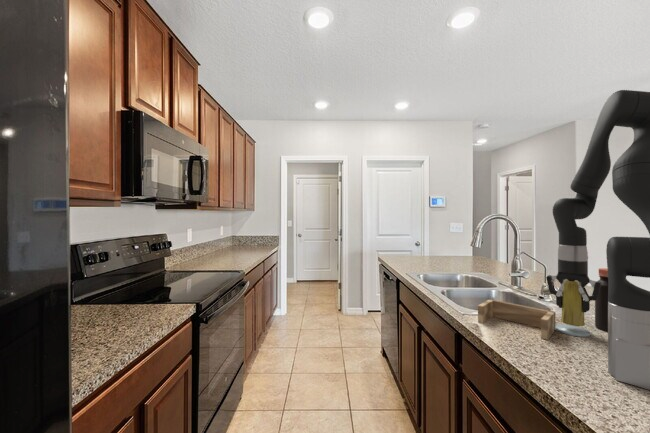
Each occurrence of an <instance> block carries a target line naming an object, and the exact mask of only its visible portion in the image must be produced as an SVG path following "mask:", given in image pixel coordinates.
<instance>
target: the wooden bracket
mask: <svg viewBox="0 0 650 433" xmlns="http://www.w3.org/2000/svg"><path fill="white" fill-rule="evenodd" d="M491 318H496V319H497V318H498V319H502V320H506V321H509V322H514V323H517V324H518V323H519V324H523V325H528V326H531V327H536V328H540V339H543V340H549V338H550V337H551V336H552V334H554V332H555V331H556V329H555V325H556V311H552V310H547V309H543V308H542V309H541V308H538V307H532V306H528V305H524V304H523V305H522V304H518V303H512V302H508V301H502V300H497V299H491V298H490V299H487V300H485V301H484V302H482V303H480V304H478V305H477V322H478V323H481V324H484V323H485V322H487V321H489V320H490V319H491Z"/></svg>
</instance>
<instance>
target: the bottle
mask: <svg viewBox="0 0 650 433" xmlns="http://www.w3.org/2000/svg"><path fill="white" fill-rule="evenodd" d="M598 277H599V279H598V280H597V281H600V282H601V286H600V290H599V294H598V298H597V300H595V301H594V326H595V328H597V329H598V330H600V331H603V332H607V333H608V268H602V267H601V268H598Z"/></svg>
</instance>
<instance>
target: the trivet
mask: <svg viewBox="0 0 650 433" xmlns="http://www.w3.org/2000/svg"><path fill="white" fill-rule="evenodd" d="M555 331H557V332H559V333H562V334H564V335H569V336H573V337H579V338H581V337H582V338H583V337H584V338H587V337H590V336H591V332H590V331H589V330H588V329H586V328H583V327H582V326H572V325H568V324H565V323H562V324H561V323H559V324H555Z"/></svg>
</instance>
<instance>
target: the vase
mask: <svg viewBox="0 0 650 433" xmlns="http://www.w3.org/2000/svg"><path fill="white" fill-rule="evenodd" d="M563 281H564V280H563ZM565 282H566V283H565V284H564V285H563V286H564V290H563V293H562V308H561V319H560V322H561V323H562V324H566V325H572V326H577V327H584V326H585V325H586V323H585V312H583V300H584V299H583V297H582V295H581V294H580V292H579V288H580V287H579V286H578V282H573V281H566V280H565ZM579 283H580V284H581V282H579ZM562 288H563V287H562Z"/></svg>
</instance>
